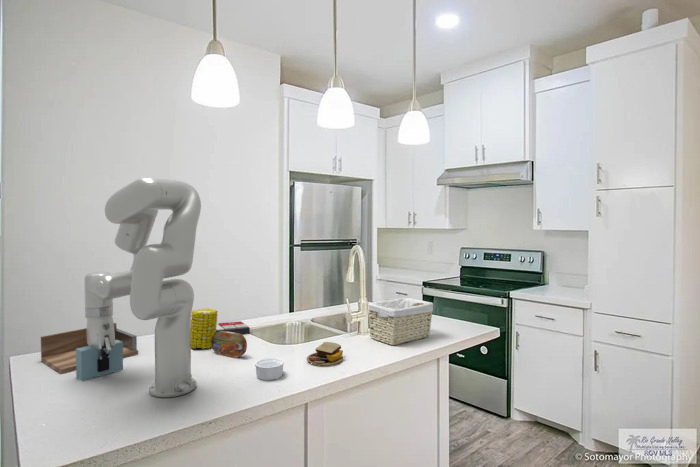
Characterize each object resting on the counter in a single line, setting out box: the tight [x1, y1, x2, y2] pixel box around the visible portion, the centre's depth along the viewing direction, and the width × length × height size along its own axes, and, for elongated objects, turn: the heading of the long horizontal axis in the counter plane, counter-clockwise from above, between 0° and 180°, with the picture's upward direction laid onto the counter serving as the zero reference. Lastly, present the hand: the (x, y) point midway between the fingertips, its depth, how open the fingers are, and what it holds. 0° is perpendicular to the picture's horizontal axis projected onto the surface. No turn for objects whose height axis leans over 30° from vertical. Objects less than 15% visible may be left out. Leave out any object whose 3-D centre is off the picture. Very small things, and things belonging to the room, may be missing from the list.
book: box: [75, 340, 124, 382], centre depth 132 cm, size 4×12×9 cm, turn 142°
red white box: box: [216, 321, 251, 336], centre depth 178 cm, size 11×4×15 cm
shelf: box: [40, 322, 139, 375], centre depth 146 cm, size 18×24×8 cm
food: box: [190, 307, 218, 350], centre depth 160 cm, size 15×12×10 cm
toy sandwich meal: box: [306, 341, 344, 367], centre depth 146 cm, size 12×14×5 cm
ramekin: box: [254, 357, 285, 381], centre depth 131 cm, size 9×9×4 cm
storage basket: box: [367, 297, 434, 346], centre depth 173 cm, size 24×16×15 cm
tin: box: [211, 331, 248, 359], centre depth 150 cm, size 15×3×8 cm, turn 62°
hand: (100, 368), depth 132 cm, fingers closed on book, 4 cm apart
